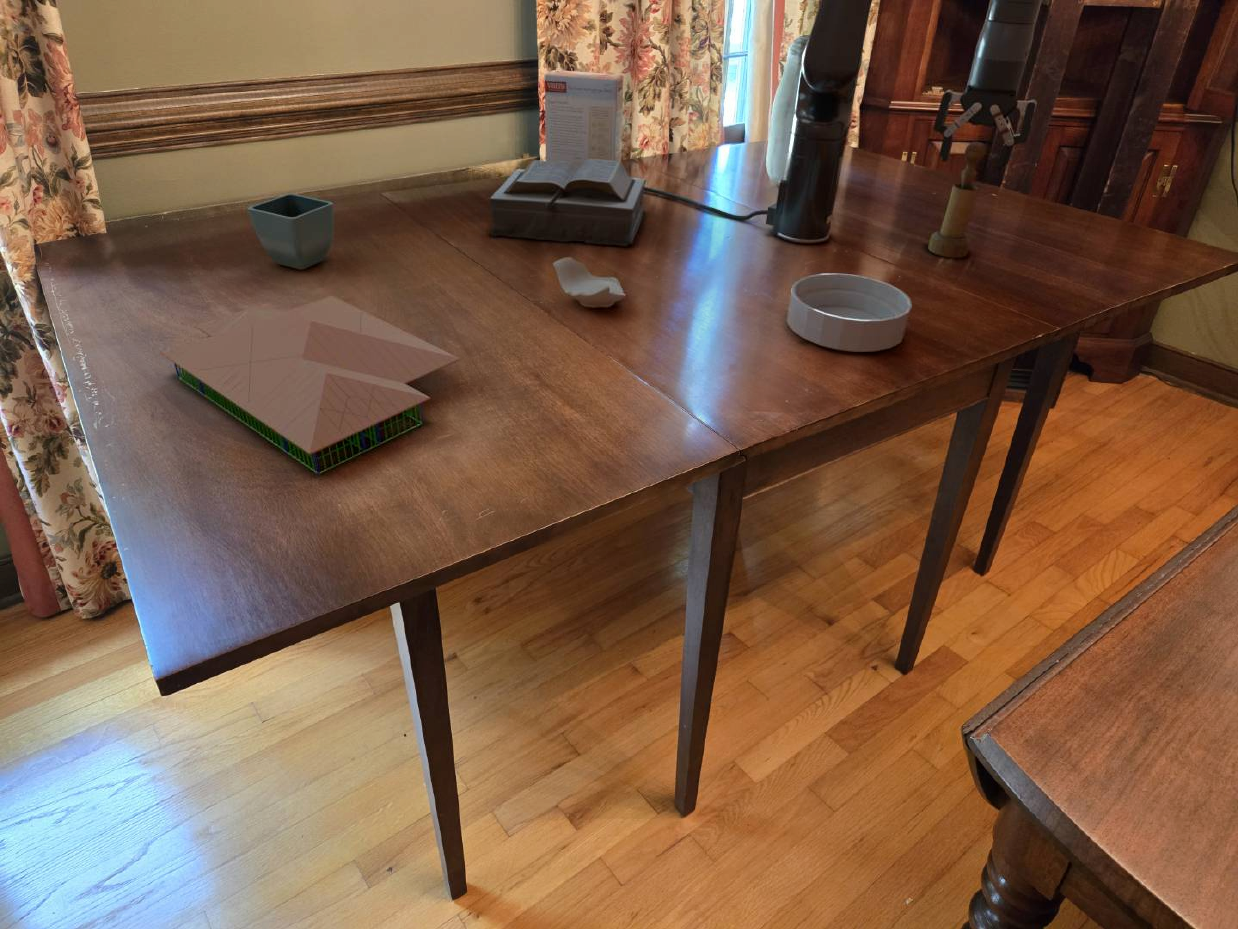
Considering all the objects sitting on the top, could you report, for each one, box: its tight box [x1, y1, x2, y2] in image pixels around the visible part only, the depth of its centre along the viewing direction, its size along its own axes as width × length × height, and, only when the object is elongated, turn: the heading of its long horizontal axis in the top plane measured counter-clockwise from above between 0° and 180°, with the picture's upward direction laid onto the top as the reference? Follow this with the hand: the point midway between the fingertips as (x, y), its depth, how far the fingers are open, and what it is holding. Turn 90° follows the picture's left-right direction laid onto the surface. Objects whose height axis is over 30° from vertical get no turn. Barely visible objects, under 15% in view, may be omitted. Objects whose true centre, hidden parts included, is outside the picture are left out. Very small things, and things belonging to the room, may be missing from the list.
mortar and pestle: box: [927, 141, 986, 259], centre depth 138 cm, size 7×6×18 cm
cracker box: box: [544, 69, 624, 166], centre depth 159 cm, size 14×6×21 cm, turn 77°
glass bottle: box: [765, 34, 810, 186], centre depth 163 cm, size 10×10×28 cm
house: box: [160, 295, 461, 475], centre depth 95 cm, size 23×33×8 cm
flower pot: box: [247, 193, 334, 271], centre depth 125 cm, size 9×9×9 cm
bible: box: [489, 159, 647, 247], centre depth 144 cm, size 23×27×10 cm
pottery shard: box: [552, 256, 627, 309], centre depth 118 cm, size 10×11×5 cm
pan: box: [786, 272, 913, 353], centre depth 114 cm, size 16×16×5 cm
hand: (971, 164), depth 134 cm, fingers open, 8 cm apart
